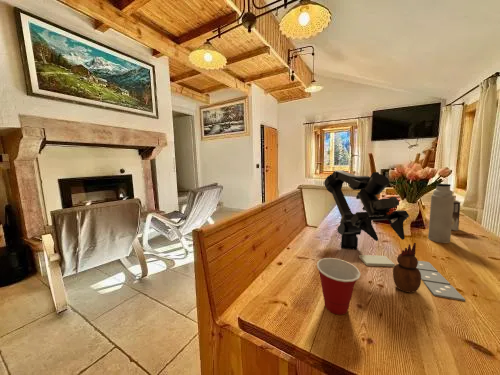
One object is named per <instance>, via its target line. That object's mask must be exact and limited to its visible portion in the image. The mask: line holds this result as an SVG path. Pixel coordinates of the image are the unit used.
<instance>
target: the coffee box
mask: <svg viewBox="0 0 500 375" xmlns="http://www.w3.org/2000/svg"><path fill="white" fill-rule="evenodd" d="M460 209H461V202H460V201H457V200H454V204H453V215H452V226H451V231H456V232H457V231H459V228H460V227H459V225H460V214H461V212H460V211H461V210H460Z"/></svg>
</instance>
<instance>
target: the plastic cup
mask: <svg viewBox="0 0 500 375" xmlns="http://www.w3.org/2000/svg"><path fill="white" fill-rule="evenodd" d="M316 268H317V270H318V274H319V278H320V284H321V290H322V296H323V300H324V301H323V302H324V306H325V308H326V309H327V311H328V312H330V313H332V314H333V315H337V316H341V315H345V314H347V313H348V310H349V307H350V303H351V300H352V296H353V292H354V288H355V284H356V283H357V281H358V280H359V278H361V277H360V276H361V272H360V270H359V268H358V267H357V266H356V265H354V264H352V263H351V262H348V261H346V260H342V259H341V258H333V257H324V258H321V259H319V260H318V261H317V262H316Z"/></svg>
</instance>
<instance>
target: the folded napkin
mask: <svg viewBox="0 0 500 375" xmlns="http://www.w3.org/2000/svg"><path fill="white" fill-rule="evenodd" d="M358 257H359V259H360V260H361V262H363V264H365V265H366V266H371V267H393V268H394V266H395V265H396V264H395V263H394V262H393V261H392V260H390V259H389V258H388V257H387V256H386V255H376V254H375V255H372V254H359V255H358Z"/></svg>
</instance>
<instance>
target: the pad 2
mask: <svg viewBox="0 0 500 375" xmlns="http://www.w3.org/2000/svg"><path fill="white" fill-rule="evenodd" d="M419 271H420V273H421V282H424V281H426V282H433V283H439V284H446V285H451V282H449V281H448V280H447V279H446V277H444V275H442V274H441V273H440V272H439V271H438V272H432V271H425V270H419Z"/></svg>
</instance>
